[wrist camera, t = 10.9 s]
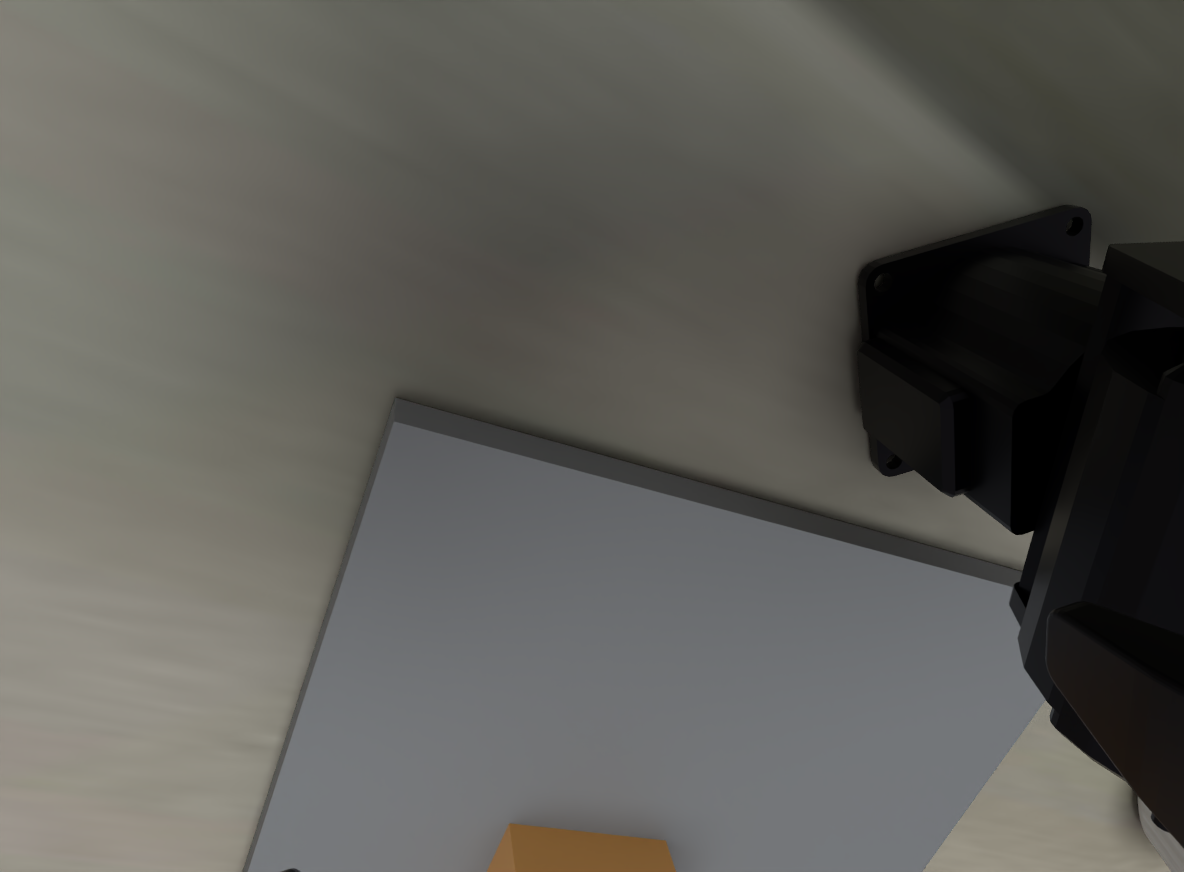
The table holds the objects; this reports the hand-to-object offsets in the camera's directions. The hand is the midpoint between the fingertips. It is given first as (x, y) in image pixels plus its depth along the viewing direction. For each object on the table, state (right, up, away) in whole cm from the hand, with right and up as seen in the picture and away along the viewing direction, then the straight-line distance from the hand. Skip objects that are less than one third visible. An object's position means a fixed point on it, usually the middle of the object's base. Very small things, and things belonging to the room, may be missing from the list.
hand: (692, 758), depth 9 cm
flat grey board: (+1, -6, +18) cm, 19 cm away
